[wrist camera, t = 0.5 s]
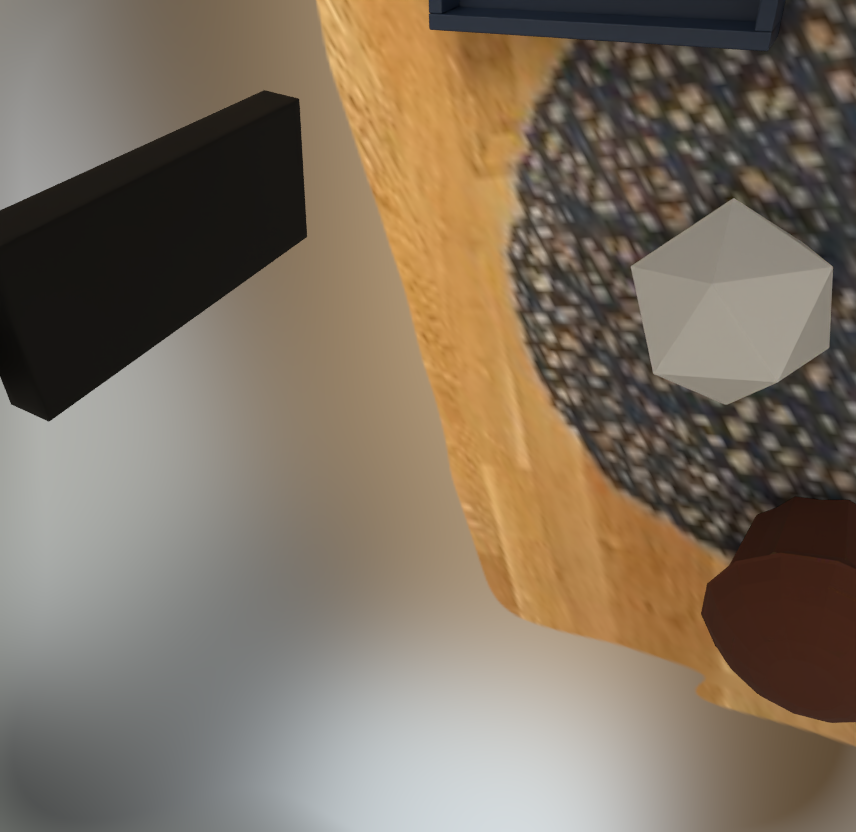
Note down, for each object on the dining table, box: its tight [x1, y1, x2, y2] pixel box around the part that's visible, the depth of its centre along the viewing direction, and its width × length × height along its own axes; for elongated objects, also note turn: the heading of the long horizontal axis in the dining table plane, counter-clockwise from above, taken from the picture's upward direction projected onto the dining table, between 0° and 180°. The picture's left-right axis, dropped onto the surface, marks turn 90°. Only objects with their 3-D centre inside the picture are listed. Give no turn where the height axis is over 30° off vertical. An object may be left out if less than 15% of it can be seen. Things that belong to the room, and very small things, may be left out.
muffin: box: [701, 497, 856, 723], centre depth 43 cm, size 12×11×10 cm
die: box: [631, 198, 833, 405], centre depth 36 cm, size 8×9×10 cm
